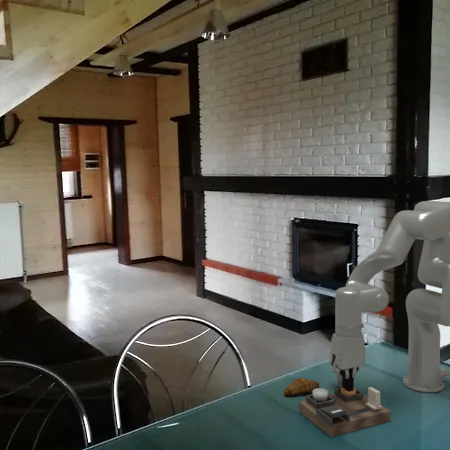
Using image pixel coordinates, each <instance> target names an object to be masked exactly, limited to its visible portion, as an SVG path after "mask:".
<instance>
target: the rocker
mask: <svg viewBox="0 0 450 450" xmlns="http://www.w3.org/2000/svg"><path fill="white" fill-rule="evenodd" d="M320 410H321V411H322V412H323V413H325V414H326V415H327V416H329V417H331V418H335V417H338V416H342V415H346V411H345V410H343V409H340V408H338V407H335V406H333V405H332V406H328V407H324V408H320Z"/></svg>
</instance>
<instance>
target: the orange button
mask: <svg viewBox="0 0 450 450" xmlns="http://www.w3.org/2000/svg"><path fill="white" fill-rule="evenodd" d="M356 389H357V388H355V387H354V390H353V391H349V392H348V391H347V390H345V389H344V388H343V387H342V388H341V393H342V394H344V395H345V396H350V395H355V394H356Z"/></svg>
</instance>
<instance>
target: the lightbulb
mask: <svg viewBox="0 0 450 450" xmlns="http://www.w3.org/2000/svg"><path fill="white" fill-rule="evenodd" d="M335 375H336V381H337V386H338V388H342V387H343V386H342V376H341V375H340V374H335Z"/></svg>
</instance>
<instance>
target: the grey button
mask: <svg viewBox="0 0 450 450" xmlns="http://www.w3.org/2000/svg"><path fill="white" fill-rule="evenodd" d="M312 394H313V399H315V400H318V401H324V400H327V399H328V395H329V391H328V390H327V389H326V388H323V387H322V388H321V387H318V388H316V389H314V390H313V391H312Z"/></svg>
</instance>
